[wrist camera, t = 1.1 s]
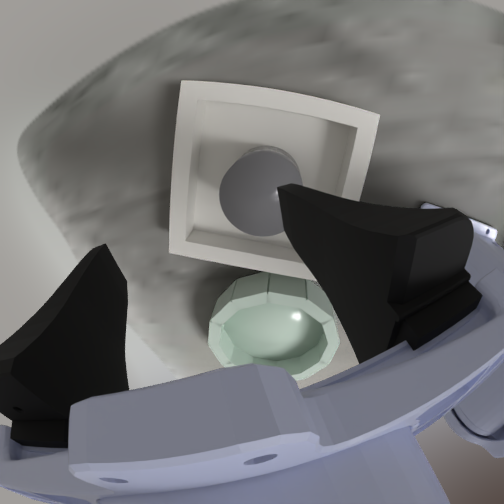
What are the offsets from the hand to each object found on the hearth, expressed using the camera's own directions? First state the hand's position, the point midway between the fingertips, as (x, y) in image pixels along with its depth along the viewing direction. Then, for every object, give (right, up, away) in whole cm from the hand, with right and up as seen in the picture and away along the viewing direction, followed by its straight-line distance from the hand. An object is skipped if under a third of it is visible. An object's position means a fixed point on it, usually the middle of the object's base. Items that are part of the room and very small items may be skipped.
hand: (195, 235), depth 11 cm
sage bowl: (+4, -7, +15) cm, 17 cm away
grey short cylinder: (+3, +4, +8) cm, 10 cm away
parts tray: (+3, +5, +9) cm, 10 cm away
